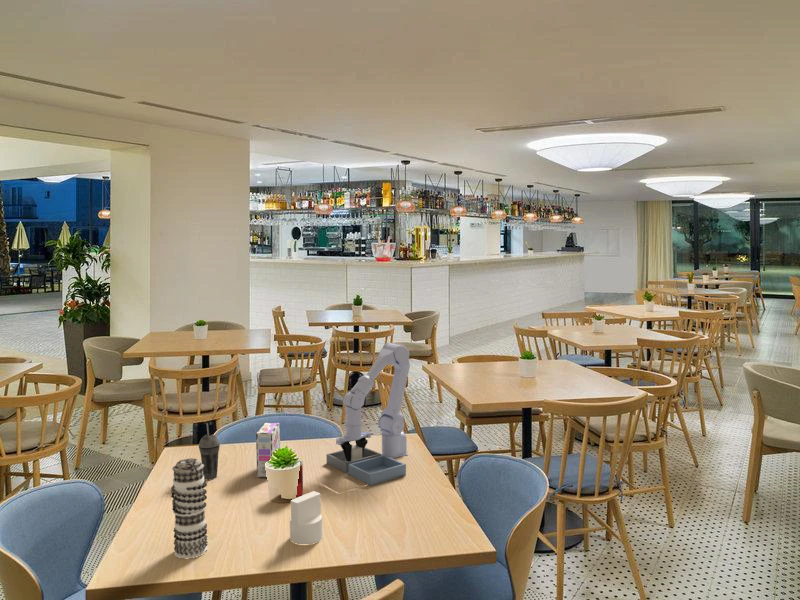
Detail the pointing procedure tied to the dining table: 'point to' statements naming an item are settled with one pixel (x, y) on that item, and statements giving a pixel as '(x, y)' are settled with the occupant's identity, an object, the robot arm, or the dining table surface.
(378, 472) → the slate blue bin
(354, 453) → the cream block
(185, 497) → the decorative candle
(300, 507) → the cylinder with rectangular tab
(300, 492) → the canned food
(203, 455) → the beverage cup
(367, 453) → the grey bin
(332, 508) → the dining table surface
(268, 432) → the candy box
